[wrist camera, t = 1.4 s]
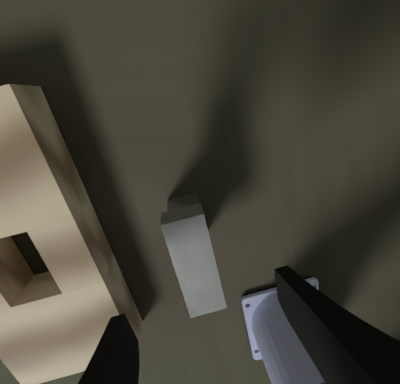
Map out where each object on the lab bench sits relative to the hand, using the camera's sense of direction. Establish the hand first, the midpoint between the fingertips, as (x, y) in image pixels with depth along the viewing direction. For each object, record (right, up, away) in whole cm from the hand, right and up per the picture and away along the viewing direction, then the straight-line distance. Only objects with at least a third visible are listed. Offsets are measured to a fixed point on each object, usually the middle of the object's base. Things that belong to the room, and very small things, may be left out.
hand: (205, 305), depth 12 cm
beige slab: (-13, +1, +9) cm, 16 cm away
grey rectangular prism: (-1, +3, +9) cm, 10 cm away
